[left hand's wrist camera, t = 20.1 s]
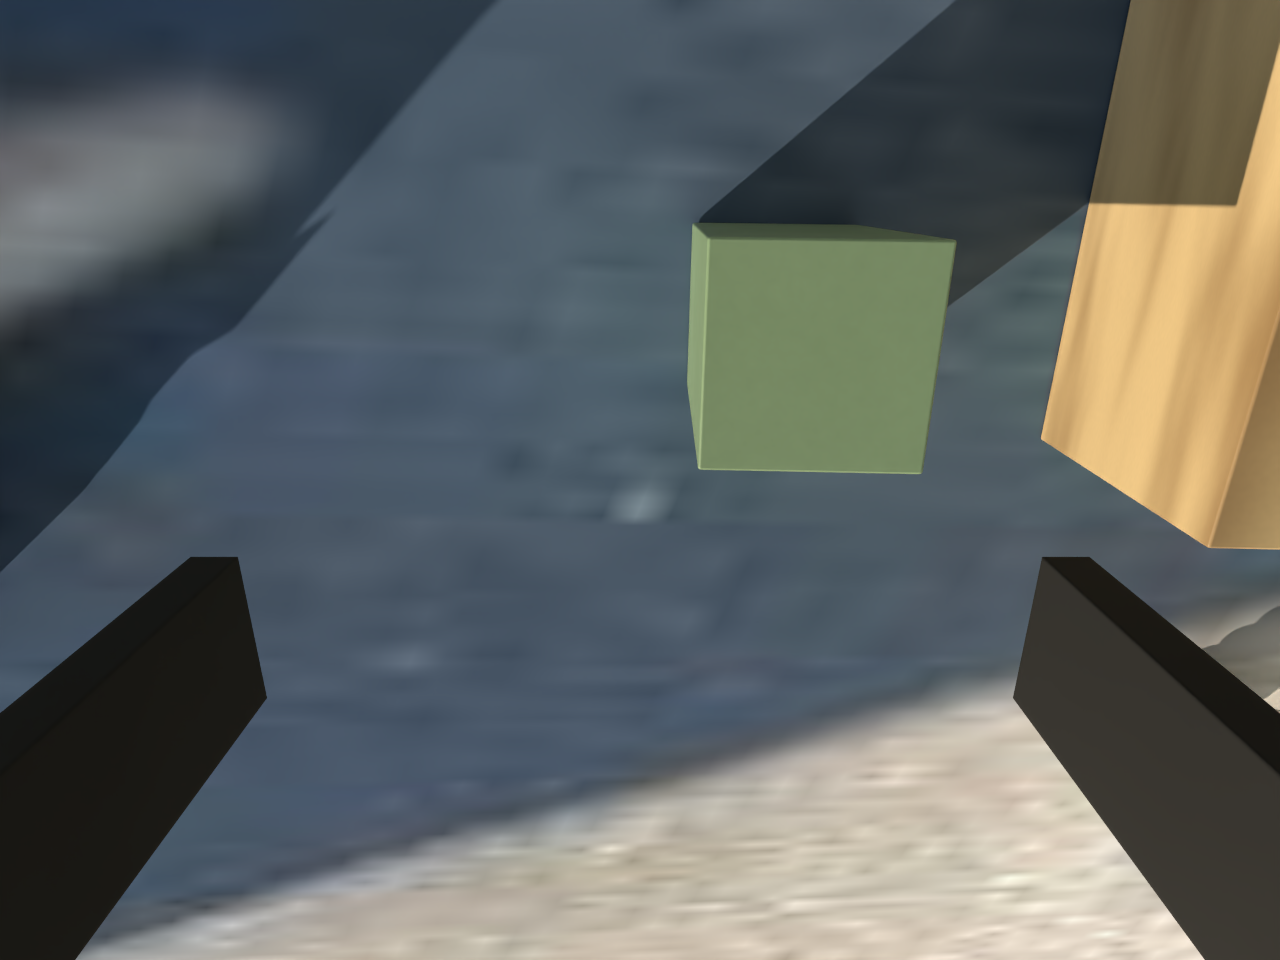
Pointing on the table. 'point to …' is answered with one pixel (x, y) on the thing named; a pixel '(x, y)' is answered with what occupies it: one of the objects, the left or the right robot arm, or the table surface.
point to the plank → (1183, 277)
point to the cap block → (814, 346)
